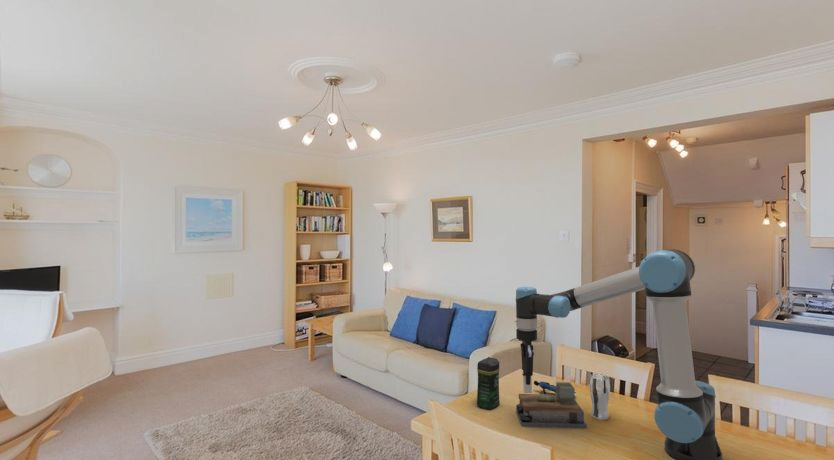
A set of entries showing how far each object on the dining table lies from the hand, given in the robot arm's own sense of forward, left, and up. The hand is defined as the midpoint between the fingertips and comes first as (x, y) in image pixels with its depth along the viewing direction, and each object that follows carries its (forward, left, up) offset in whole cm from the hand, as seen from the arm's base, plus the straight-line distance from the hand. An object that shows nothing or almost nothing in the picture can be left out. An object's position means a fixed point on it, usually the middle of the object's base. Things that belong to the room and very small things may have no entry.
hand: (527, 392), depth 157 cm
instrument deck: (0, -8, -5) cm, 9 cm away
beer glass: (+4, -28, -10) cm, 30 cm away
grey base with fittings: (0, -8, -10) cm, 13 cm away
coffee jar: (+12, +13, -10) cm, 21 cm away
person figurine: (+24, -16, -11) cm, 31 cm away
